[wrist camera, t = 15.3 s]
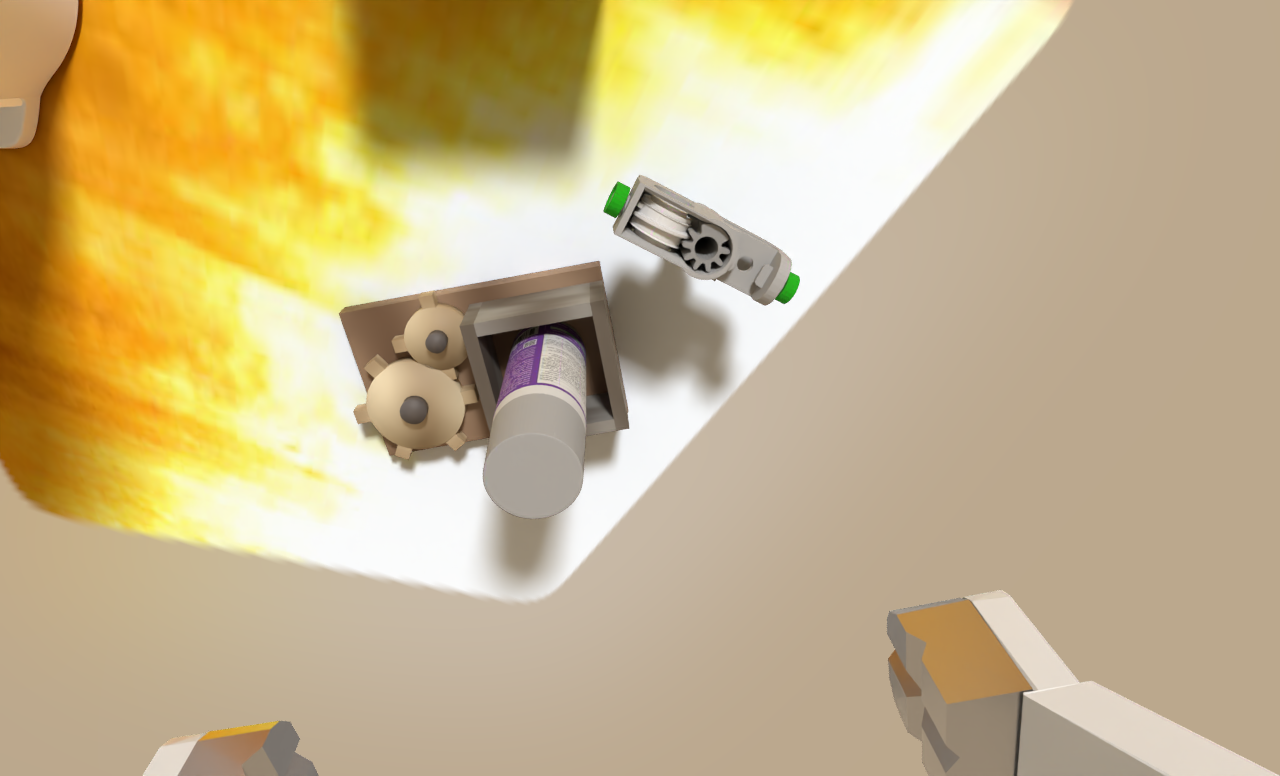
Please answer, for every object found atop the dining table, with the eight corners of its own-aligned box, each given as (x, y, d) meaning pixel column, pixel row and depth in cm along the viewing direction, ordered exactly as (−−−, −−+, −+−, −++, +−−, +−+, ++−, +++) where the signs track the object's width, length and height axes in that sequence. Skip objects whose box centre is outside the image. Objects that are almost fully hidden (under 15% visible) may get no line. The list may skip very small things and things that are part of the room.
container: (519, 392, 47) (492, 528, 33) (504, 323, 45) (468, 439, 31) (591, 381, 47) (593, 513, 33) (579, 312, 45) (576, 423, 32)
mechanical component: (741, 269, 46) (780, 321, 37) (594, 193, 43) (597, 229, 34) (765, 227, 45) (812, 269, 36) (617, 147, 42) (626, 170, 33)
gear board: (381, 449, 49) (360, 491, 45) (329, 304, 45) (299, 333, 40) (627, 405, 49) (631, 442, 45) (598, 255, 45) (599, 278, 40)
